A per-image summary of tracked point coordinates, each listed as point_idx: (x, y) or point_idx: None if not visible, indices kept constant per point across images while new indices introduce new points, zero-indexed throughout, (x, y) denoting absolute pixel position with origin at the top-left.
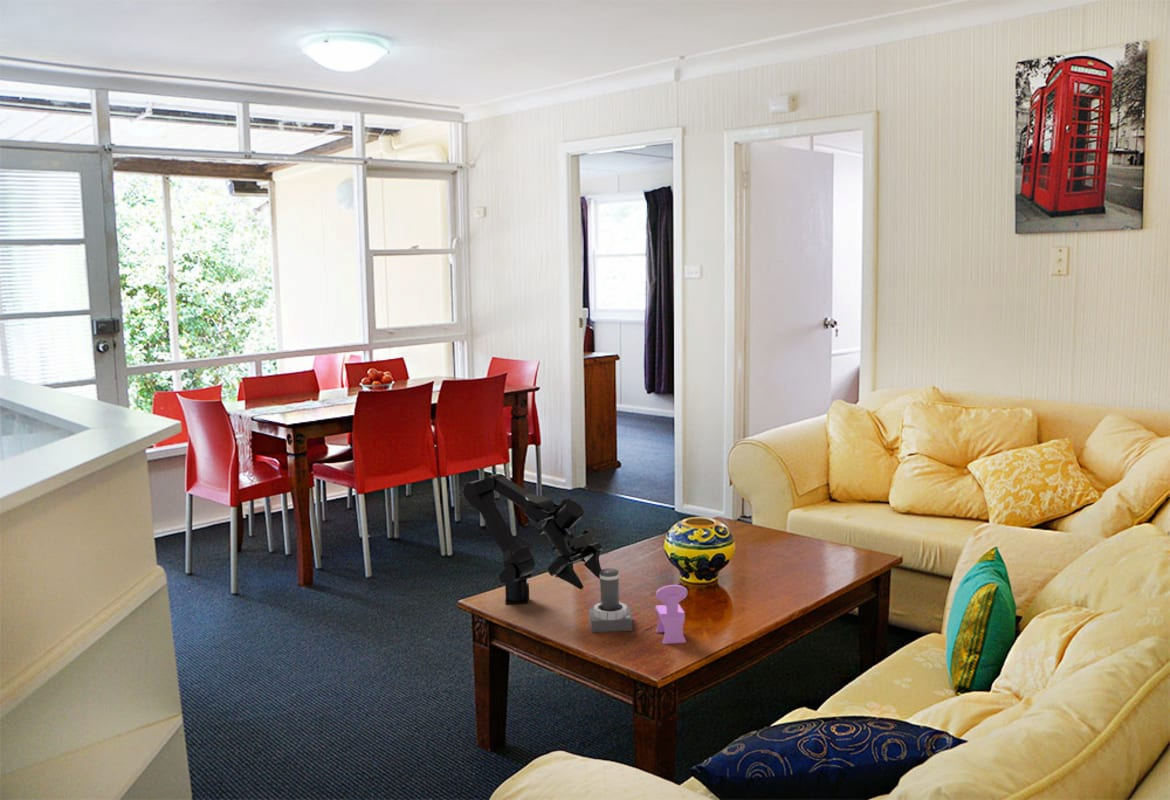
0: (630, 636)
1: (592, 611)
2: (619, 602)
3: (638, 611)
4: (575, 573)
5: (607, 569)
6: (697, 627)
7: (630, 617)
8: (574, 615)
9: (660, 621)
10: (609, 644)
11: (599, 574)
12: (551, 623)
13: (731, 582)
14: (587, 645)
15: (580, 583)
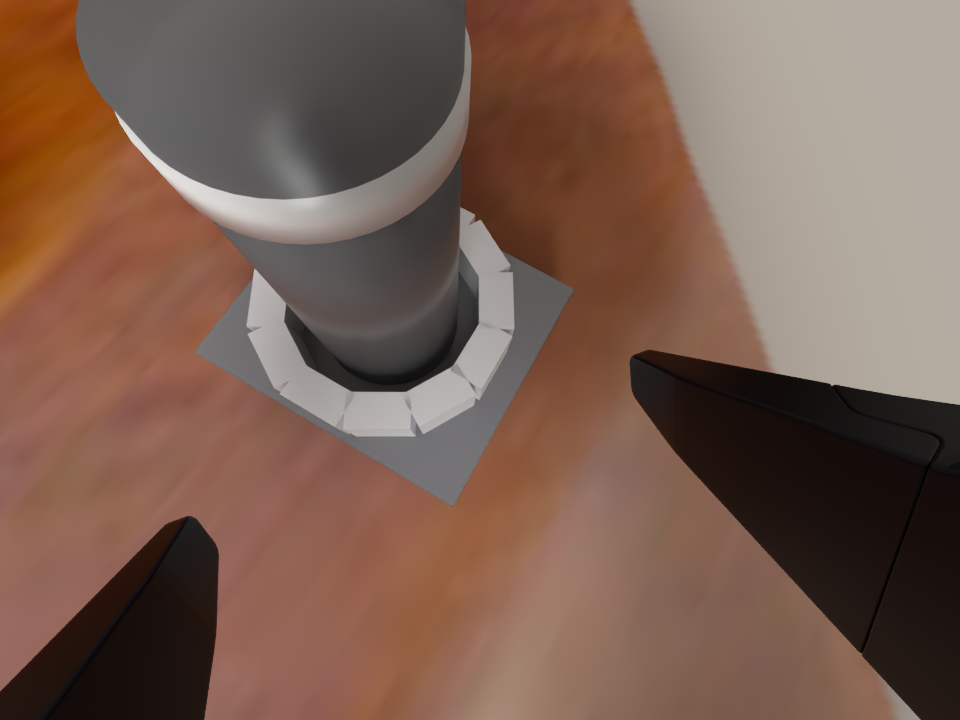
0: None
1: (466, 439)
2: (258, 337)
3: (101, 429)
4: (858, 426)
5: (219, 99)
6: (65, 60)
7: None
8: (500, 638)
9: None
10: (563, 141)
11: (175, 591)
12: (708, 593)
13: None
14: (663, 189)
15: (693, 361)
